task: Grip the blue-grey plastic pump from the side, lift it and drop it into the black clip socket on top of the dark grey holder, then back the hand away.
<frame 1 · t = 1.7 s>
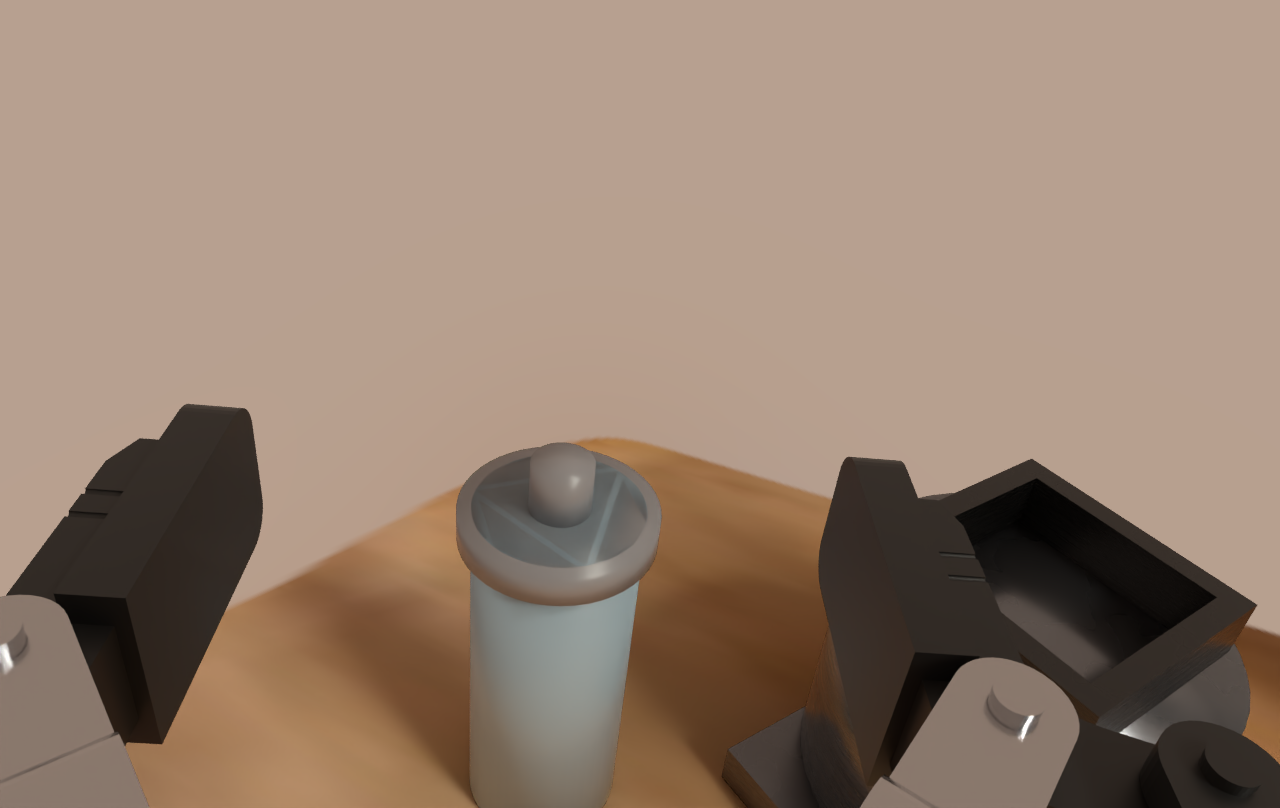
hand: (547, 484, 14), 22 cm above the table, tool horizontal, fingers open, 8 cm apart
pump: (541, 772, 35), on the table
dark grey holder: (959, 793, 36), on the table
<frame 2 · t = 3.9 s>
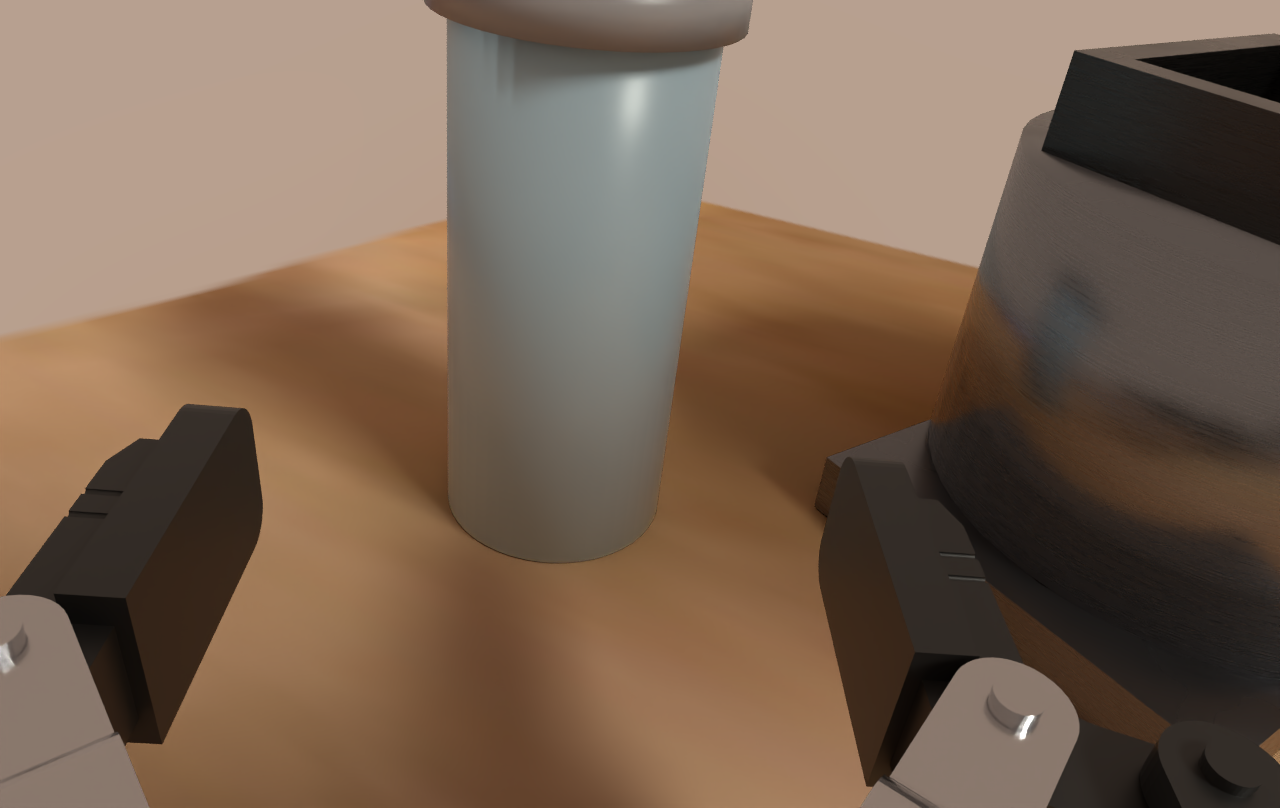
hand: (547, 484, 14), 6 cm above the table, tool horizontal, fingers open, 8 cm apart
pump: (553, 491, 24), on the table
dark grey holder: (1155, 538, 25), on the table
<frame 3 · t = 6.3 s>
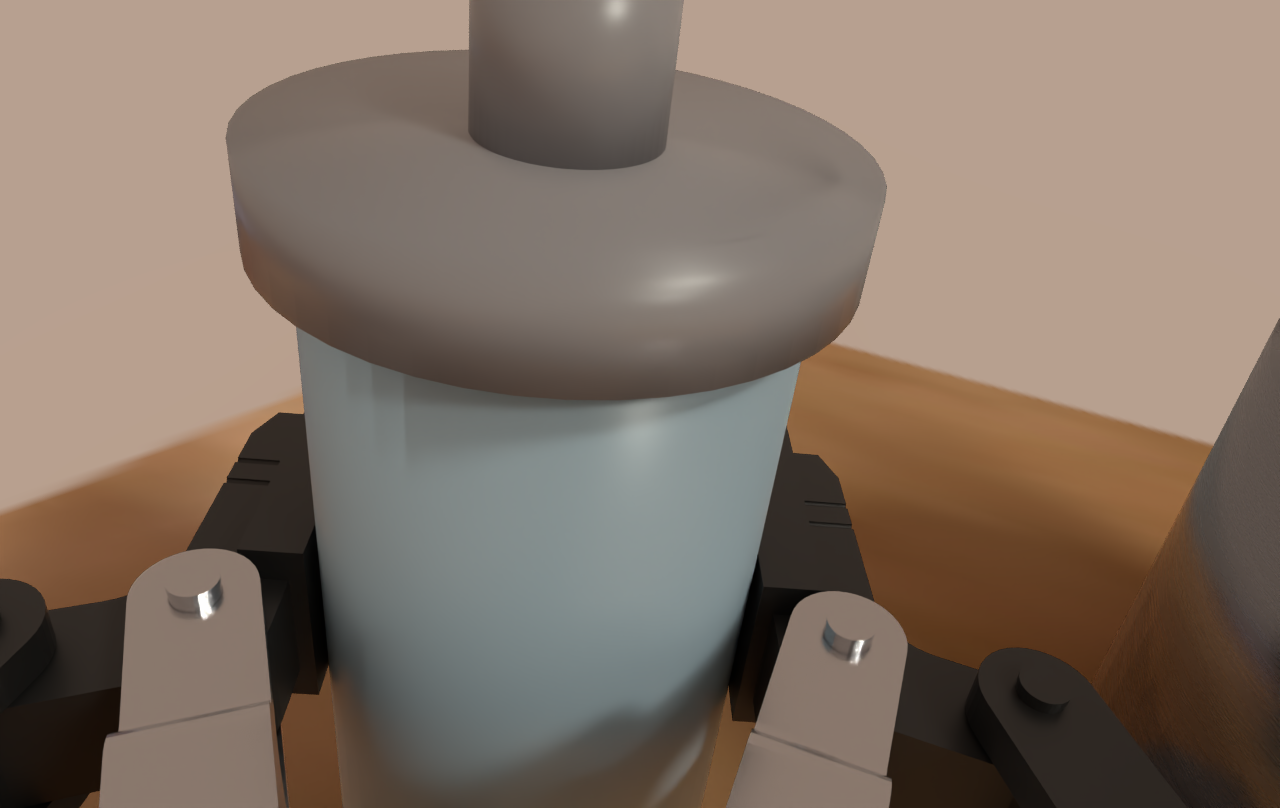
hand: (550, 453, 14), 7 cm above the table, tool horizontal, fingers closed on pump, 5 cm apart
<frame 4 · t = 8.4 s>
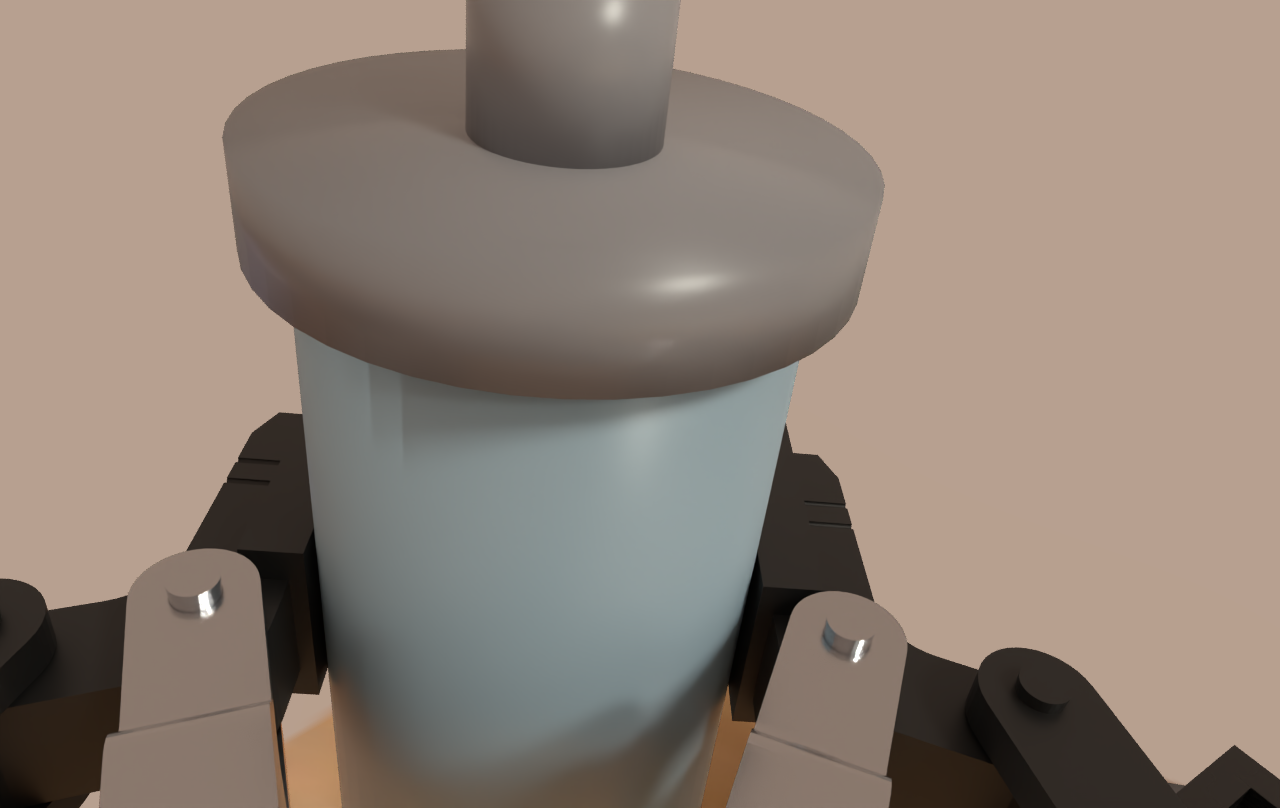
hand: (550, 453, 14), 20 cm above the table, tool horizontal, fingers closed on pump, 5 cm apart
when the fingers open (17 cm above the table, at t = 10.9 s): pump drops 1 cm, resting on dark grey holder.
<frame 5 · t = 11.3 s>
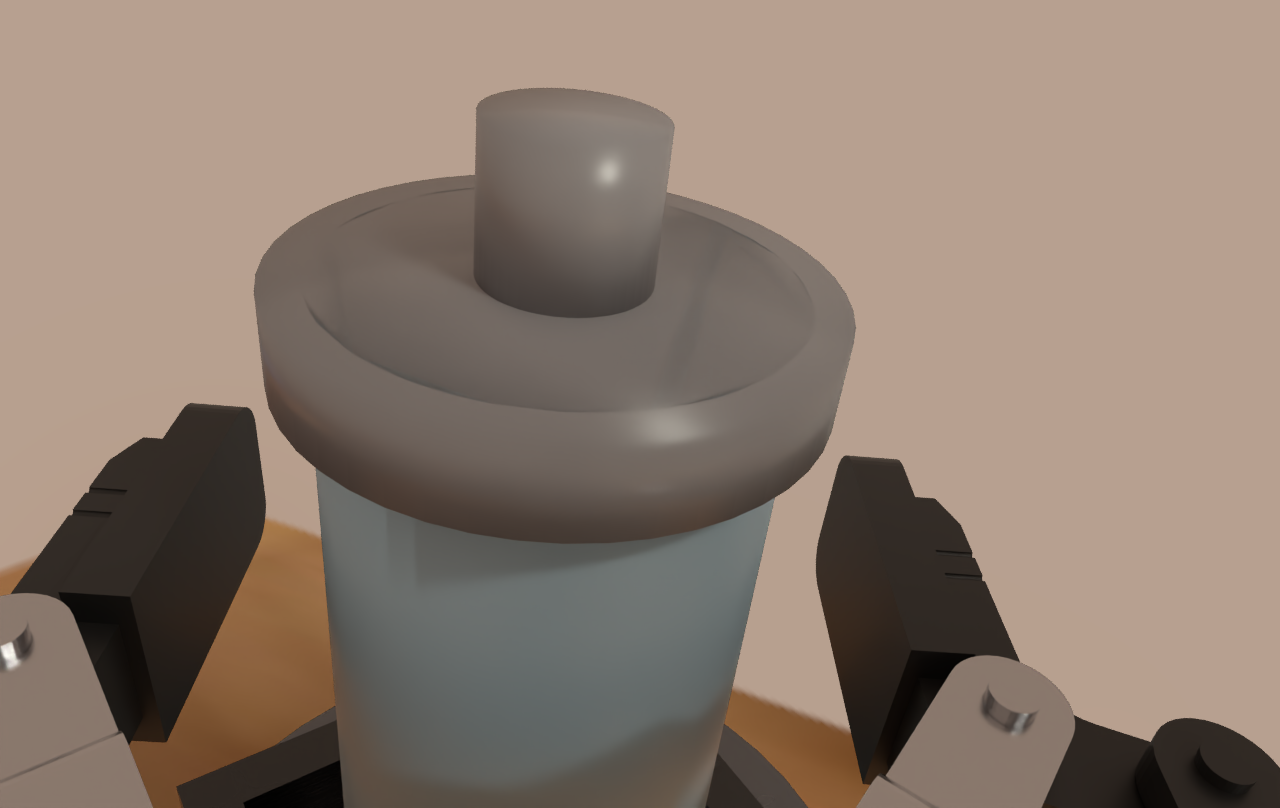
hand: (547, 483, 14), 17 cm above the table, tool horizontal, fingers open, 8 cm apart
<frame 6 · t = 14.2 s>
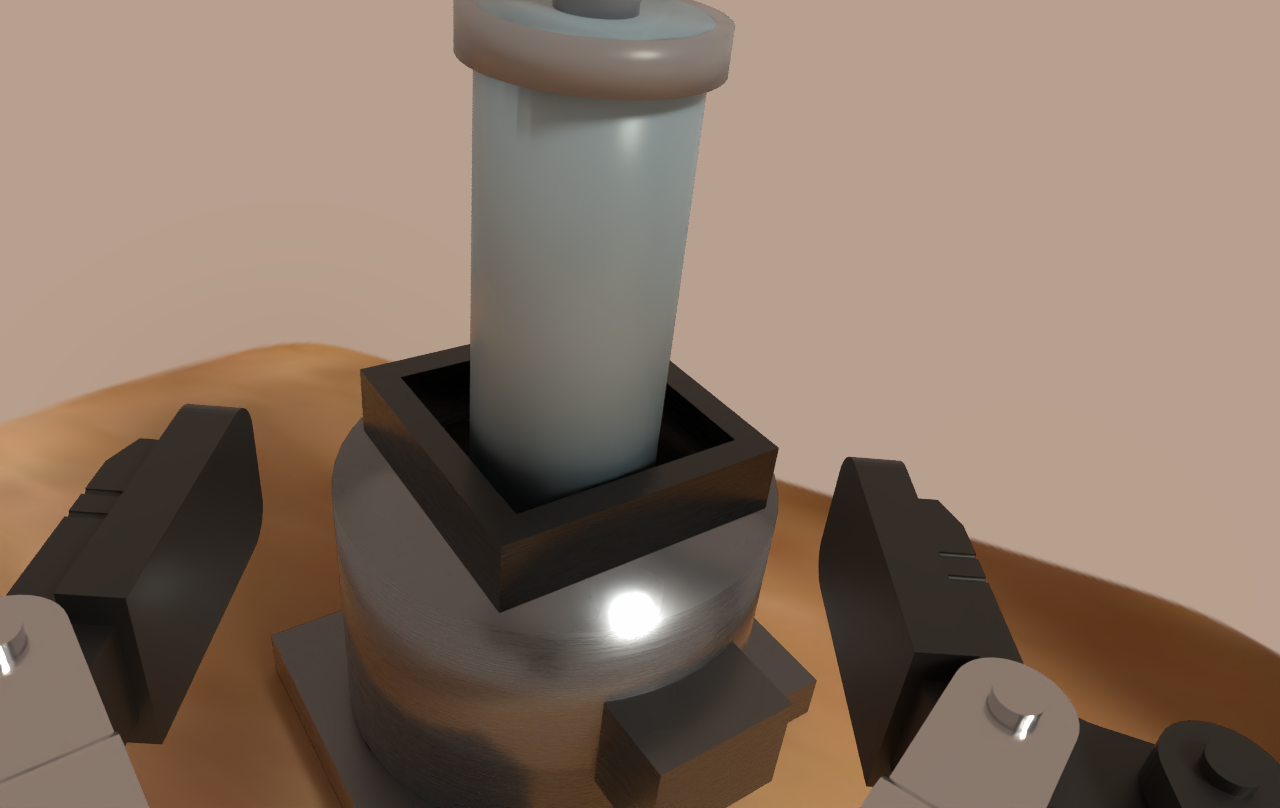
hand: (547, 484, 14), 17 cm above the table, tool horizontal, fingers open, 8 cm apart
pump: (562, 471, 27), point 9 cm above the table, touching dark grey holder
dark grey holder: (544, 690, 32), on the table
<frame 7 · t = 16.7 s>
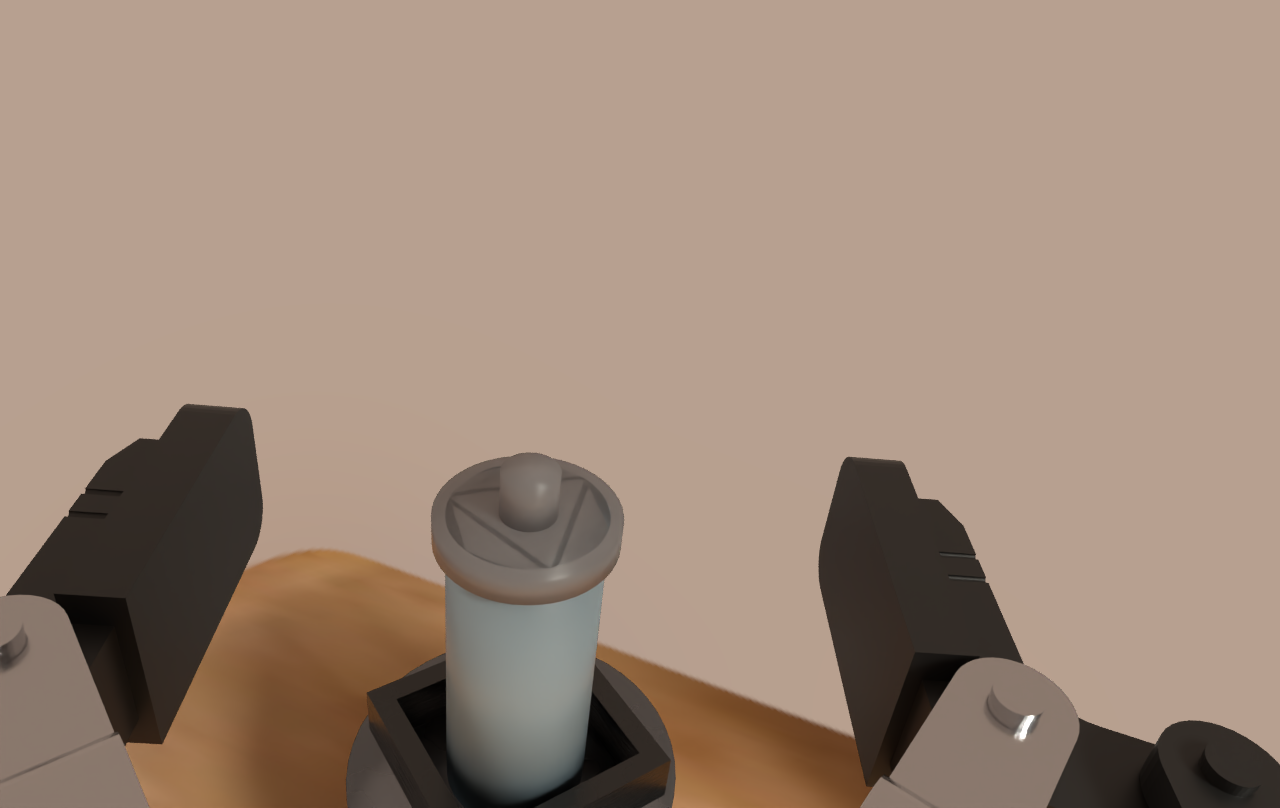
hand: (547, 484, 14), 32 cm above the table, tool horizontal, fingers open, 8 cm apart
pump: (515, 763, 37), point 9 cm above the table, touching dark grey holder
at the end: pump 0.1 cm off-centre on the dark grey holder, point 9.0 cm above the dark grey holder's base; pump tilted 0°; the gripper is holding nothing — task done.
